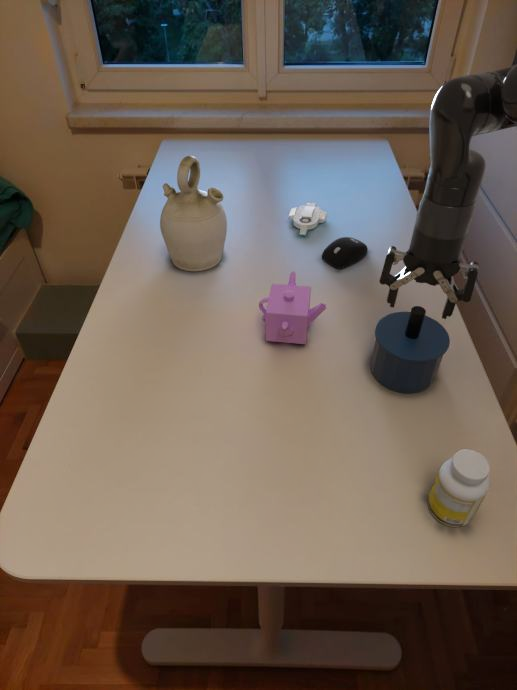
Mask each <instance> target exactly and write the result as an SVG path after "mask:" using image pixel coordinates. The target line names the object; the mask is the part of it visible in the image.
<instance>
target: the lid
mask: <svg viewBox="0 0 517 690" xmlns="http://www.w3.org/2000/svg"><path fill="white" fill-rule="evenodd" d="M426 313H427V310H426V309H425V308H424V307H423V306H420V305H416V306H412V307H411V308H410V311H396V312H391V313H389V314H386V315H384V316H383V317H381V318H380V319H379V320H378V321H377V322H376V324H375V328H374V337H375V340H377V342H378V344H379V345H380V346H381V347H382V348H383V349H384V350H385V351H386V352H388V353H389V354H391V355H393V356H395V357H397V358H399V359H402V360H406V361H411V362H428V361H432V360H435V359H438V358H440V357H441V356H442V355H443V356H444V355H445V354H446V353H447V351H448V350H449V347H450V344H451V343H450V342H451V340H450V335H449V332H448V331H447V329H446V328H445V327H444V326H443V325H442V324H441V323H440V322H438V321H437V320H436V319H434V318H432V317H430V316H428V315H426Z"/></svg>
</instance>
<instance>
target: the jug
mask: <svg viewBox="0 0 517 690" xmlns="http://www.w3.org/2000/svg"><path fill="white" fill-rule="evenodd" d="M200 178H201V165H200V161H199V159H197V158H196V157H195V156H193V155H186V156H184V157H183V158H182V159H181V161H180V163H179V165H178V168H177V175H176V182H177V183H176V184H177V187H178V189H179V191H176V187H174V186H172V185H170V184H168V183H167V182H166V183H163V185H162V189H163V192H164V193H163V196H164V197H166V198H167V200H166V202H165V203H164V205H163V208H162V209H161V213H160V218H159V228H160V232H161V235H162V236H161V237H162V239H163V241H164V244H165V247H166V250H167V253H168V255H169V257H170V259H171V262H172V264H173V265H174V266H175V267H176V268H178V270H179V269H180V270H182V271H185V272H202V271H206V270H210V269H212V268H215V267H216V266H217V265H218V264H220V262H221V260H222V258H223V253H224V248H225V243H226V238H227V232H228V231H227V230H228V229H227V228H228V220H227V218H228V217H227V214H226V211H225V208H224V206H223V205H222V203H221V202H223V200H224V194H223V192H222V191H221V190H220V189H218V188H216V187H209V188H208V189H207V191H205V190H202V189H199V188H198V186H199V182H200Z"/></svg>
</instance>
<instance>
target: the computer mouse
mask: <svg viewBox="0 0 517 690" xmlns="http://www.w3.org/2000/svg"><path fill="white" fill-rule="evenodd" d="M368 249H369V247H368V246H367V245H366V244H365V243H364V242H362V241H361V240H359V239H356V238H354V237H349V236H343V237H339V238H337V239H335V240H333V241H332V242H331V243H329V244H328V245H327V246H326V247H325V248H324V250H323V252H322V253H321V259H322V260H323V261H324V262H326V263H327V264H328V265H330V266H332V267H334V268H336V269H339V270H341V269H345V268H347V267H349V266H351V265H353V264H355V263H357V262H358V261H360V260H362V259H363V258H364V257H365V256H366V255H367V254H368V252H369V251H368Z"/></svg>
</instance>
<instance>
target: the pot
mask: <svg viewBox="0 0 517 690" xmlns="http://www.w3.org/2000/svg"><path fill="white" fill-rule="evenodd" d="M443 356H444V355H442V356H441V357H440V358H438V359H435V360H432V361H428V362H411V361H406V360H402V359H399V358H397V357H395V356H393V355H391V354H389V353H388V352H386V351H385V350H384V349H383V348H382V347H381V346H380V345H379V344H378V342H377V340H376V339H375V340H374V345H373V350H372V355H371V360H370V371H371V374H372V376H373V378H374V380H376V382H378V383H379V385H381V386H382V387H384V388H386V389H388V390H390V391H392V392H395V393H398V394H399V393H400V394H405V395H407V394H411V395H412V394H418V393H422V392H424V391H426V390H428V389H429V388H430V387H431V386H432V385H433V383H434V382H435V380H436V377H437V374H438V371H439V369H440V365H441V363H442V360H443V358H444V357H443Z"/></svg>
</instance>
